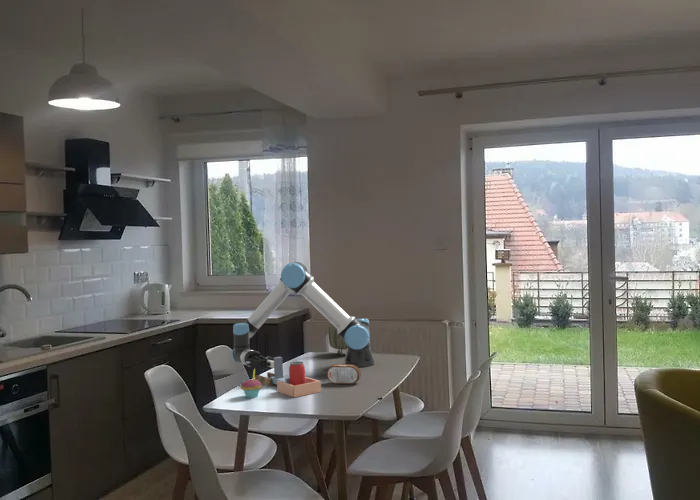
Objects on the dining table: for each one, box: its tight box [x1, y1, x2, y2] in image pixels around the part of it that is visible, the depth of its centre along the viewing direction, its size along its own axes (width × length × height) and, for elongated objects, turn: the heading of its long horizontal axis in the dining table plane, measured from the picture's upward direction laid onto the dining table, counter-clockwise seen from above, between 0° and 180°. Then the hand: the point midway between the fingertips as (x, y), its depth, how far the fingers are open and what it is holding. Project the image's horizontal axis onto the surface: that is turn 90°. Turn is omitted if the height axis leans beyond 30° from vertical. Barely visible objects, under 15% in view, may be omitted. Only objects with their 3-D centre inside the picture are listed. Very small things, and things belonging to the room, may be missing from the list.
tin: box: [326, 363, 362, 385], centre depth 279 cm, size 15×3×8 cm, turn 74°
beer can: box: [288, 361, 306, 386], centre depth 269 cm, size 7×7×12 cm
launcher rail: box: [254, 372, 285, 387], centre depth 288 cm, size 14×7×3 cm, turn 36°
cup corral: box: [276, 376, 322, 398], centre depth 268 cm, size 14×13×4 cm
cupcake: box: [240, 367, 263, 399], centre depth 263 cm, size 9×8×12 cm
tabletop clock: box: [328, 309, 348, 356], centre depth 349 cm, size 14×9×25 cm, turn 52°
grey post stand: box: [270, 356, 290, 386], centre depth 278 cm, size 16×6×12 cm, turn 36°
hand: (275, 365), depth 282 cm, fingers closed
